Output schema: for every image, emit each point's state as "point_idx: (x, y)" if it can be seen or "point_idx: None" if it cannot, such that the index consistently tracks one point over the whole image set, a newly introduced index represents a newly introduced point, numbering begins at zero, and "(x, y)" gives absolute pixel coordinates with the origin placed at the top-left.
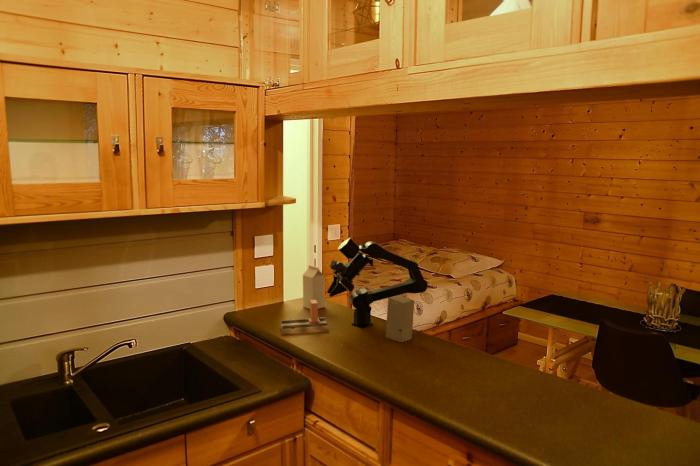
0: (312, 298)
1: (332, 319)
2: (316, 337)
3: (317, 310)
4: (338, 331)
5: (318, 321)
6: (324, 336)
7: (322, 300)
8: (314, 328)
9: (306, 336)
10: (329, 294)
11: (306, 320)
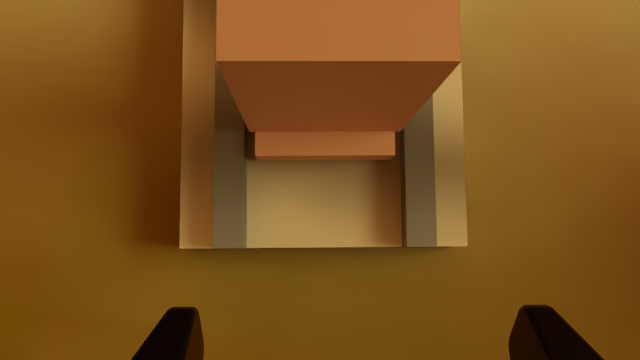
0: None
1: None
2: (40, 104)
3: (234, 93)
4: None
5: (256, 140)
6: (49, 186)
7: None
8: (185, 94)
9: (92, 13)
10: (179, 322)
11: None
